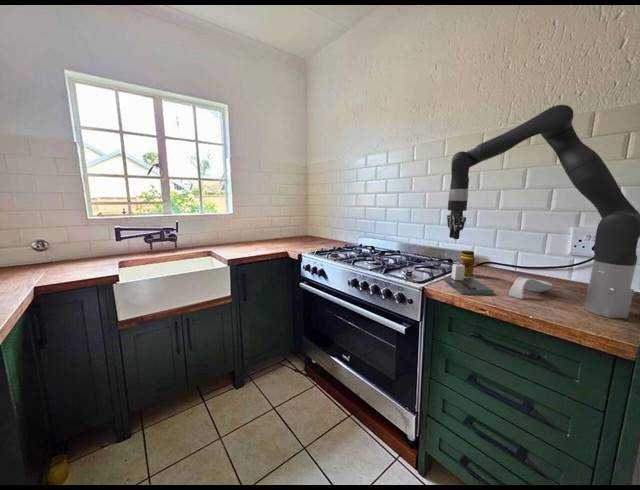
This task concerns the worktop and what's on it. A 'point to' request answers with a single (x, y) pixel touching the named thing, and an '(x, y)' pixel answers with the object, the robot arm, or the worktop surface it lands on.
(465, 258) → the condiment
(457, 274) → the block
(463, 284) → the plate
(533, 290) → the spoon rest
